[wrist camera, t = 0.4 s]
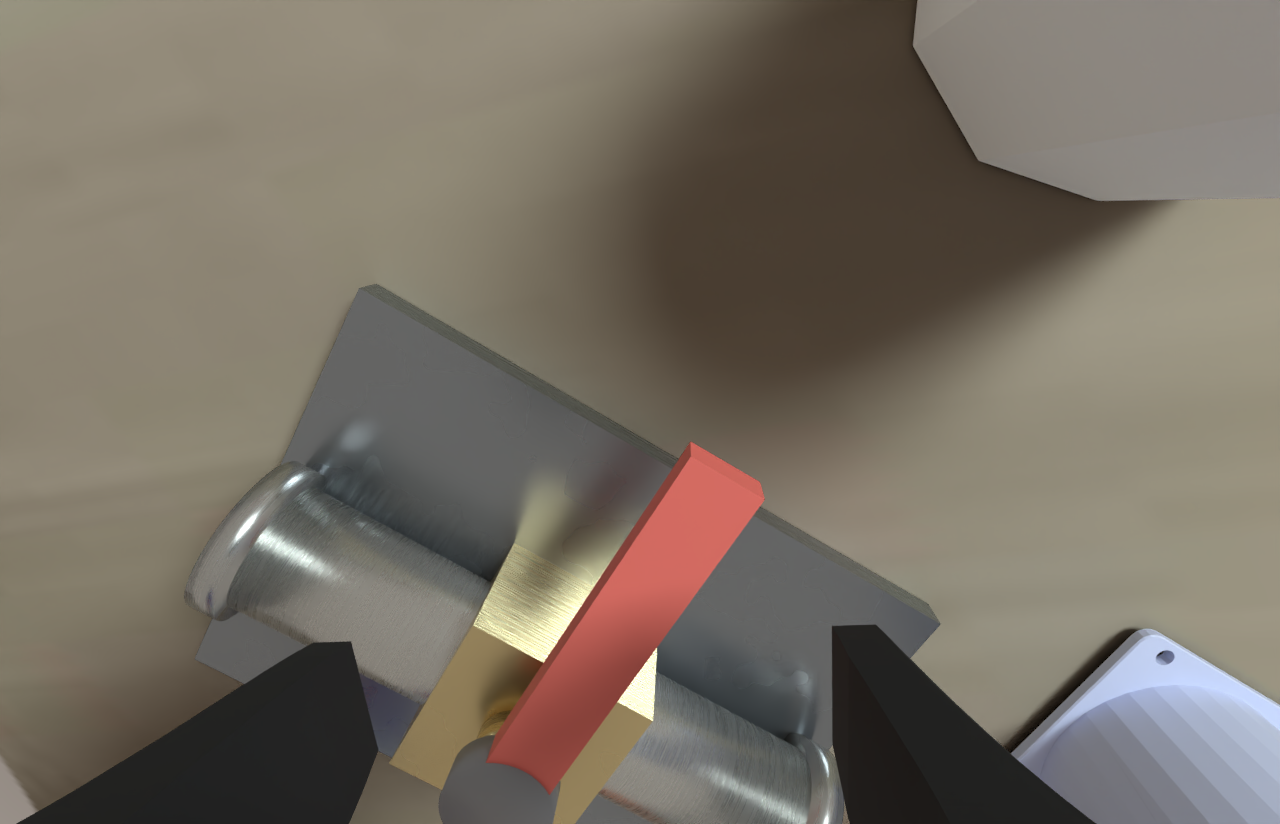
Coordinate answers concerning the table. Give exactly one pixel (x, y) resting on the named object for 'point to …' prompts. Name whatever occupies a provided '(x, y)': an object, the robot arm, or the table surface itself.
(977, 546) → the table surface
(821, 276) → the table surface
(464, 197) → the table surface
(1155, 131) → the toilet paper
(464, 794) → the lever
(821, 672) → the valve assembly
